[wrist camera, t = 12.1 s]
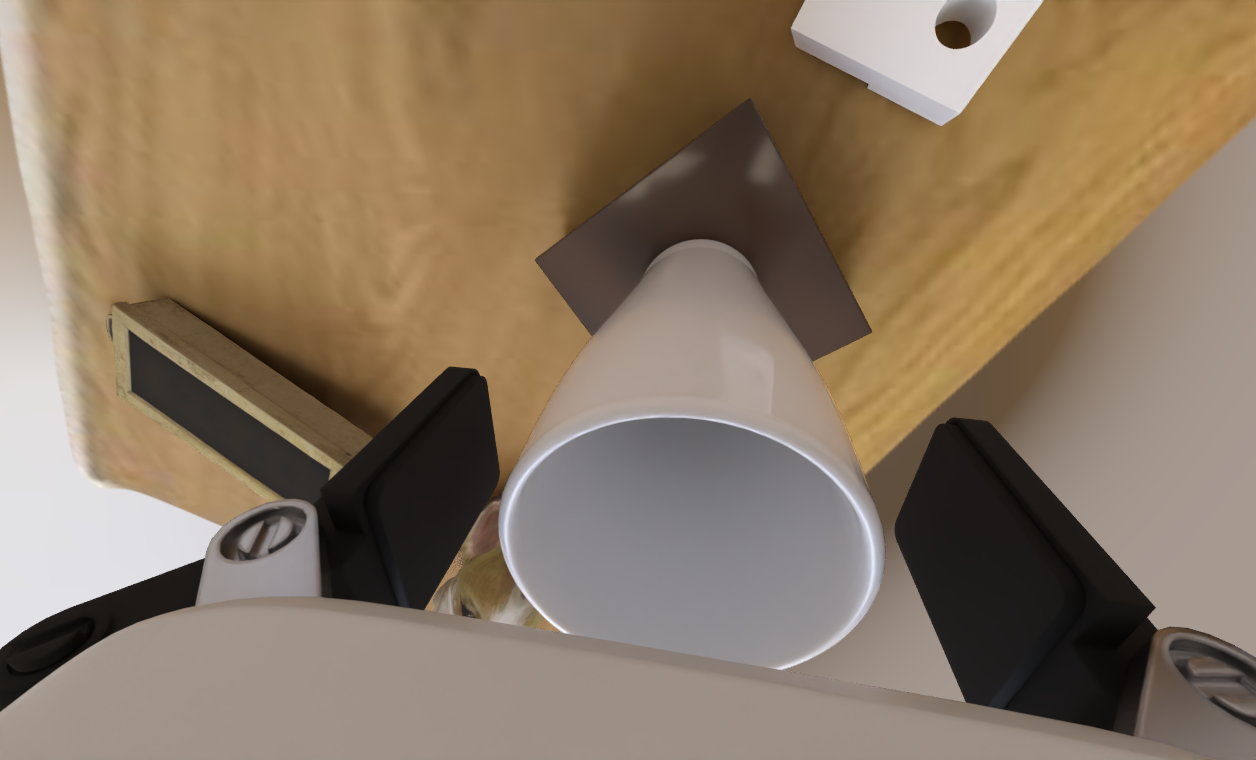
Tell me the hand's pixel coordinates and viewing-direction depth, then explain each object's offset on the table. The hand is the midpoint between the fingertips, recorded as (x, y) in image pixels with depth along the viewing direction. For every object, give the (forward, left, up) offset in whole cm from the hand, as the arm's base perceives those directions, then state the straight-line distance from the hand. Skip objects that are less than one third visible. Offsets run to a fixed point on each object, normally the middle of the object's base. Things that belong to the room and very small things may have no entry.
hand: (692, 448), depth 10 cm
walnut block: (0, 0, -17) cm, 17 cm away
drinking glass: (0, 0, -13) cm, 13 cm away
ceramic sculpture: (+22, +17, -18) cm, 33 cm away
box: (+33, -3, -18) cm, 37 cm away
